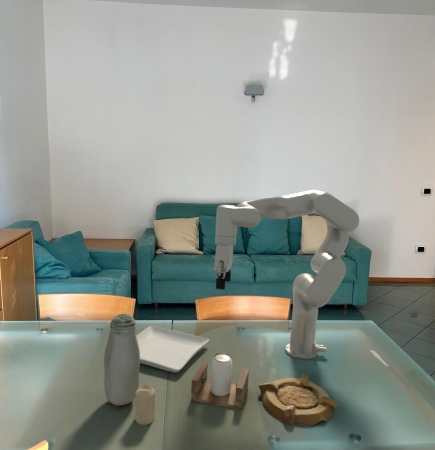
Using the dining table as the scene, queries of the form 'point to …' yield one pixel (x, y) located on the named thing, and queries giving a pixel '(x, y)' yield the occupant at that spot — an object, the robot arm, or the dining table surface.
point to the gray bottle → (121, 361)
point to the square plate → (168, 348)
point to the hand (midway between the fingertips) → (223, 284)
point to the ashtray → (297, 401)
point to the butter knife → (378, 357)
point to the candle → (145, 405)
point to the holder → (204, 395)
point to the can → (221, 374)
